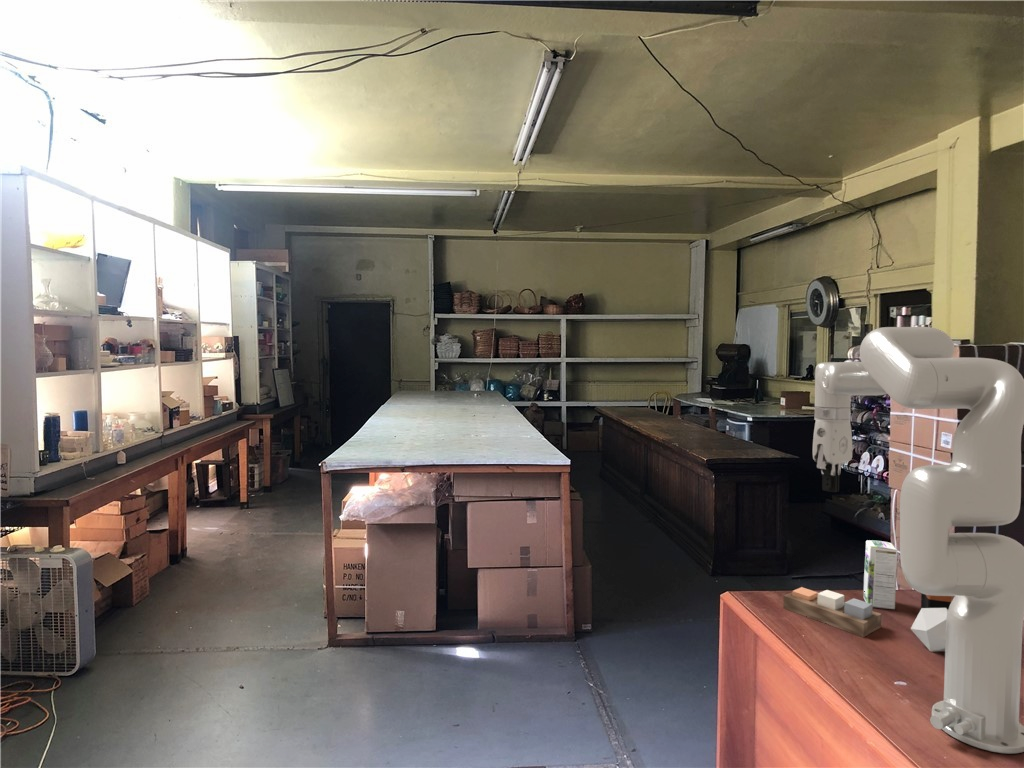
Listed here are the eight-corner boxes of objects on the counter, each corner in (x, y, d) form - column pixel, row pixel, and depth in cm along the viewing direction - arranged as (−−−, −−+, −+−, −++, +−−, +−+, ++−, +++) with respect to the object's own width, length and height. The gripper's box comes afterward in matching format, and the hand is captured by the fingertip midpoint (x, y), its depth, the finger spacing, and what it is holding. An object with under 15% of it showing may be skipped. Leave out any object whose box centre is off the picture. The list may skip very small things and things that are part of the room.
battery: (927, 624, 134) (929, 580, 134) (920, 612, 140) (921, 569, 140) (951, 627, 132) (952, 582, 132) (942, 615, 139) (944, 572, 138)
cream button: (844, 608, 137) (844, 595, 137) (835, 612, 135) (835, 599, 135) (826, 602, 141) (826, 589, 140) (817, 606, 138) (817, 593, 138)
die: (965, 666, 118) (981, 620, 120) (923, 641, 119) (939, 597, 121) (937, 660, 125) (952, 618, 128) (897, 637, 127) (913, 595, 129)
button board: (881, 627, 133) (881, 613, 133) (863, 637, 128) (863, 623, 128) (801, 599, 148) (802, 587, 147) (783, 608, 143) (783, 595, 143)
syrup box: (862, 597, 149) (864, 539, 148) (890, 600, 147) (891, 541, 146) (867, 606, 143) (869, 546, 143) (896, 610, 141) (898, 549, 141)
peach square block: (817, 604, 142) (818, 592, 142) (808, 609, 140) (808, 596, 140) (801, 599, 146) (801, 587, 145) (792, 603, 143) (792, 590, 143)
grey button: (872, 617, 132) (872, 604, 132) (863, 622, 130) (863, 608, 130) (853, 611, 136) (853, 598, 136) (844, 615, 133) (844, 602, 133)
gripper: (831, 418, 136) (829, 498, 137) (864, 413, 145) (862, 489, 146) (799, 415, 143) (798, 492, 144) (832, 411, 151) (830, 484, 152)
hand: (830, 490), depth 145 cm, fingers closed
